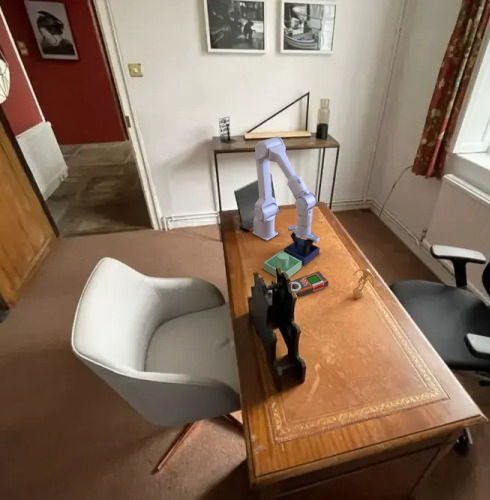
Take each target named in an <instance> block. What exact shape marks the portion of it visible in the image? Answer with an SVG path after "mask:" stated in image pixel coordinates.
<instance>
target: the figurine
mask: <svg viewBox="0 0 490 500" xmlns="http://www.w3.org/2000/svg"><path fill="white" fill-rule="evenodd" d="M359 271H361V272H362V275H360V277H359V279H358V280H357V283H358V285H357V287H355V288H354V289H353V290H352V296H353V297H354V298H355V299H357V300H360V299H362V298H364V294H365V292H364V290H363V289H364V287H365V285H366V284H367V282H368V277H369V276H370V277H371V278H372V284H371V287H374V286H375V276H374V275H373V273H372V272H371V270H370V269H369V268H358V269H357V270H356V271H354V273H353V274H352V276H355V274H357V273H358V272H359ZM361 282H362V283H361ZM361 285H362V286H361ZM360 286H361V287H360Z"/></svg>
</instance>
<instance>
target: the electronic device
mask: <svg viewBox="0 0 490 500" xmlns="http://www.w3.org/2000/svg"><path fill="white" fill-rule="evenodd" d="M290 283H292V289H293V291H294V292H295V293H296V294H295V295H297V296H298V297H303V296H305V295H307V294H310V293H315V292H317V291H319V290H322V289H324V288H326V287H328V286H329V280H328V279H327V278H326V277H325V276H324V275H323V274H322V273H321V271H319V270H318V271H314V272H312V273H310V274H307V275H304V276H302V277H301V276H300V277H298V278H295V279H294V280H290Z"/></svg>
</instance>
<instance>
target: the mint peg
mask: <svg viewBox="0 0 490 500" xmlns="http://www.w3.org/2000/svg"><path fill="white" fill-rule="evenodd" d="M288 262H289V255H288V254H287V253H279V254H278V256H277V267H278V268H280V269H281V270H282V271H286V270H288Z"/></svg>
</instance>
